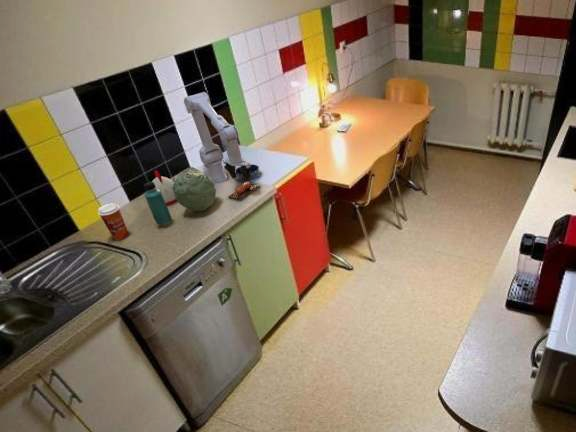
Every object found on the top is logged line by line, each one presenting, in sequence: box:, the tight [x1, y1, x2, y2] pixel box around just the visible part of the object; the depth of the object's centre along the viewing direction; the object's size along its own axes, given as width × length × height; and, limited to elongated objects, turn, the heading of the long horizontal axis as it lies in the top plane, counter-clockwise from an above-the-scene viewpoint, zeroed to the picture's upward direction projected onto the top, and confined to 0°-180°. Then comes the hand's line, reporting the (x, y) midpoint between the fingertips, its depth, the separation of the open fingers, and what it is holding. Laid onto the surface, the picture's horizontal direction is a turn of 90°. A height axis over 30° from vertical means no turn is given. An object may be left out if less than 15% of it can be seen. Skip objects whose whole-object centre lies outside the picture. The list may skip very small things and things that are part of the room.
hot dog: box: [235, 181, 252, 194], centre depth 200 cm, size 9×3×3 cm, turn 155°
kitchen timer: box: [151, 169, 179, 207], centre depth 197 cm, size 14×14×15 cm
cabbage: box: [172, 166, 217, 212], centre depth 186 cm, size 16×19×20 cm
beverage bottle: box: [143, 181, 173, 226], centre depth 176 cm, size 6×7×20 cm
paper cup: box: [97, 203, 129, 241], centre depth 172 cm, size 8×8×14 cm
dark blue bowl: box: [235, 163, 261, 182], centre depth 215 cm, size 12×12×4 cm
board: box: [228, 183, 260, 202], centre depth 202 cm, size 14×7×1 cm, turn 155°
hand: (240, 179), depth 198 cm, fingers open, 7 cm apart
